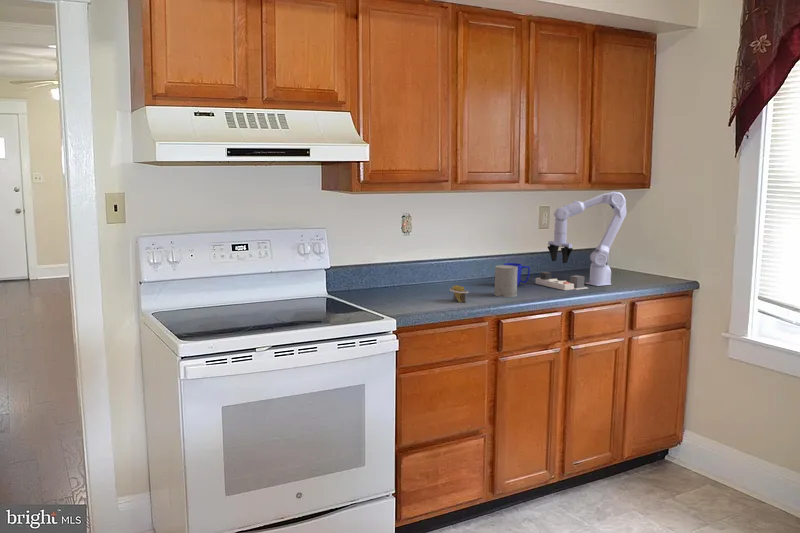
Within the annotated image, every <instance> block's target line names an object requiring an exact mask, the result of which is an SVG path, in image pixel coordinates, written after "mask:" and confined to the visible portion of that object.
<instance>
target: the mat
mask: <svg viewBox="0 0 800 533" xmlns="http://www.w3.org/2000/svg"><path fill="white" fill-rule="evenodd" d="M587 289H589V287H587V286H584V288H574V289H573V290H576V291H577V290H578V291H579V290H587Z"/></svg>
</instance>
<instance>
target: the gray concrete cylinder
mask: <svg viewBox="0 0 800 533" xmlns="http://www.w3.org/2000/svg"><path fill="white" fill-rule="evenodd" d="M494 269H495V270H494V296H495V295H496V296H495V297H499V296H501V298H514V297H518V295H517V294H518V286H517V269H518V267H517V266H512V265H504V264H500V265H495V268H494Z"/></svg>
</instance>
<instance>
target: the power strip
mask: <svg viewBox="0 0 800 533" xmlns="http://www.w3.org/2000/svg"><path fill="white" fill-rule="evenodd" d="M539 275H540V277H536V278H535V284H536V285H541V286H544V287H548V288H553V289H557V290H562V291H570V290H575V289H574V284H573V283H570V281H567V280H558V278H552V276H553V275H552V272H548V271H541V272H540V274H539Z"/></svg>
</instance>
